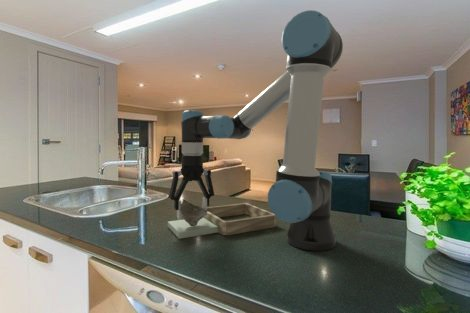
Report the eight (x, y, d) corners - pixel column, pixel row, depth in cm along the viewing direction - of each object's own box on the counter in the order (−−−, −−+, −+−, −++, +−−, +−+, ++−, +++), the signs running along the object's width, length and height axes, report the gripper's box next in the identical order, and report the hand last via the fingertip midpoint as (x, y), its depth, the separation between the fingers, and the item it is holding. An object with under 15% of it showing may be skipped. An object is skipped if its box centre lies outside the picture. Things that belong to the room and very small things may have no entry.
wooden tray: (276, 226, 104) (277, 214, 104) (223, 235, 93) (224, 222, 93) (246, 212, 123) (246, 202, 123) (199, 219, 113) (199, 208, 112)
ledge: (217, 232, 97) (217, 226, 96) (179, 238, 90) (179, 232, 90) (202, 221, 109) (202, 216, 109) (167, 226, 102) (167, 221, 102)
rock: (194, 225, 89) (178, 200, 92) (184, 235, 92) (169, 210, 95) (215, 217, 99) (200, 194, 102) (205, 226, 101) (191, 204, 104)
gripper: (215, 153, 106) (215, 211, 108) (159, 154, 96) (159, 218, 97) (224, 154, 100) (223, 215, 101) (164, 155, 89) (164, 223, 90)
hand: (192, 216), depth 99 cm, fingers closed on rock, 9 cm apart
